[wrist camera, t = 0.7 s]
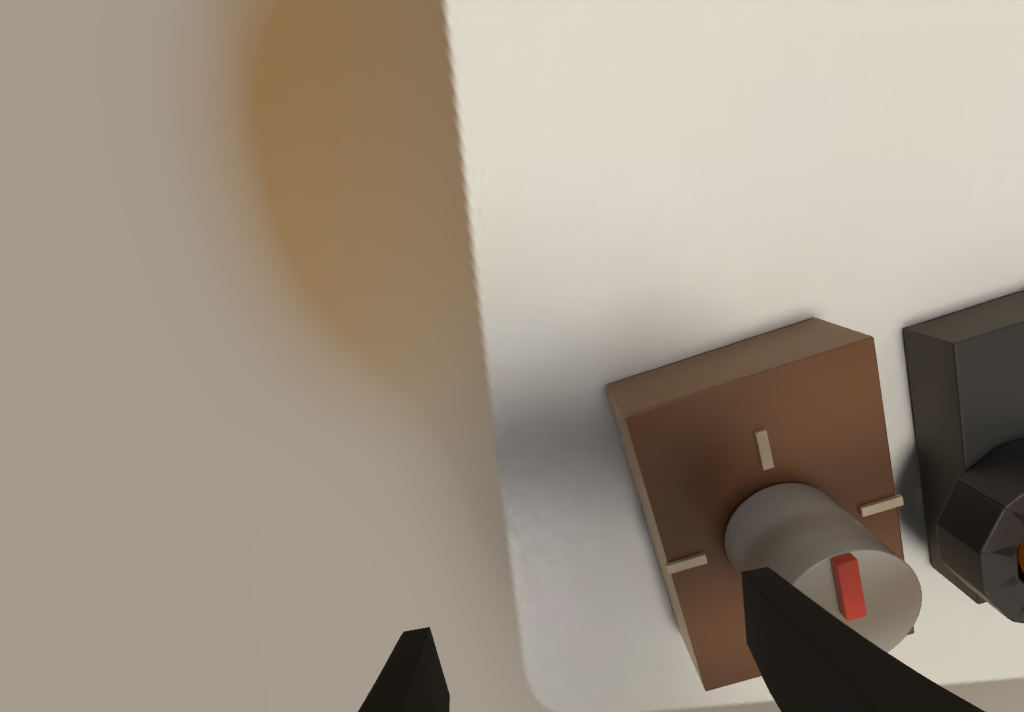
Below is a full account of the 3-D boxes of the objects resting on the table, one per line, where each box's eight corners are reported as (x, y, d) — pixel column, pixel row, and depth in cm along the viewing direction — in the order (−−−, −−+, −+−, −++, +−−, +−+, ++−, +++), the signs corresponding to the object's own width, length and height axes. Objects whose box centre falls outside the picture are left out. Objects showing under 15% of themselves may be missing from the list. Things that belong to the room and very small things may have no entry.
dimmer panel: (862, 576, 22) (921, 636, 19) (676, 630, 22) (704, 697, 19) (818, 315, 18) (881, 336, 15) (602, 385, 19) (622, 419, 16)
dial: (847, 564, 18) (938, 655, 14) (736, 596, 18) (797, 694, 14) (830, 467, 17) (924, 538, 13) (712, 503, 17) (772, 583, 13)
